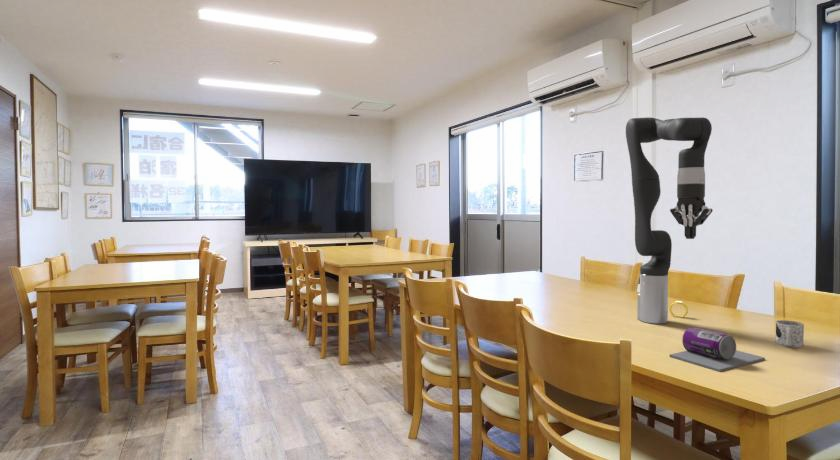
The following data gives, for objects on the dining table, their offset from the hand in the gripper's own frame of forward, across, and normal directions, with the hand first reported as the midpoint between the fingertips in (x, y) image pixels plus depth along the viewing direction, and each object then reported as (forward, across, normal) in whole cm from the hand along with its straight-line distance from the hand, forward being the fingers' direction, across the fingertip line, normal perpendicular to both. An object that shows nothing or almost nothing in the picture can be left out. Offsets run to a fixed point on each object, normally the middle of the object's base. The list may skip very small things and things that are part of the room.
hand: (690, 238), depth 150 cm
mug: (+32, +18, +20) cm, 42 cm away
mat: (+32, +15, -10) cm, 37 cm away
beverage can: (+28, +7, -10) cm, 31 cm away
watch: (+32, -22, +26) cm, 47 cm away
